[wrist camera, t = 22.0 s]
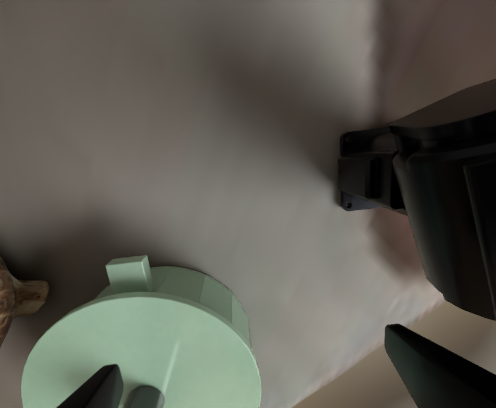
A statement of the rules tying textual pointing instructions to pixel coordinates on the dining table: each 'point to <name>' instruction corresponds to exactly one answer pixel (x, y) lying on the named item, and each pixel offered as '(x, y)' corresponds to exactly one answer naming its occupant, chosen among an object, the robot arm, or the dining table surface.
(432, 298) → the dining table surface
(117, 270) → the pot
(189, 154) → the dining table surface
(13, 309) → the mushroom
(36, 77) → the dining table surface
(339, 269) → the dining table surface
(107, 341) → the lid
